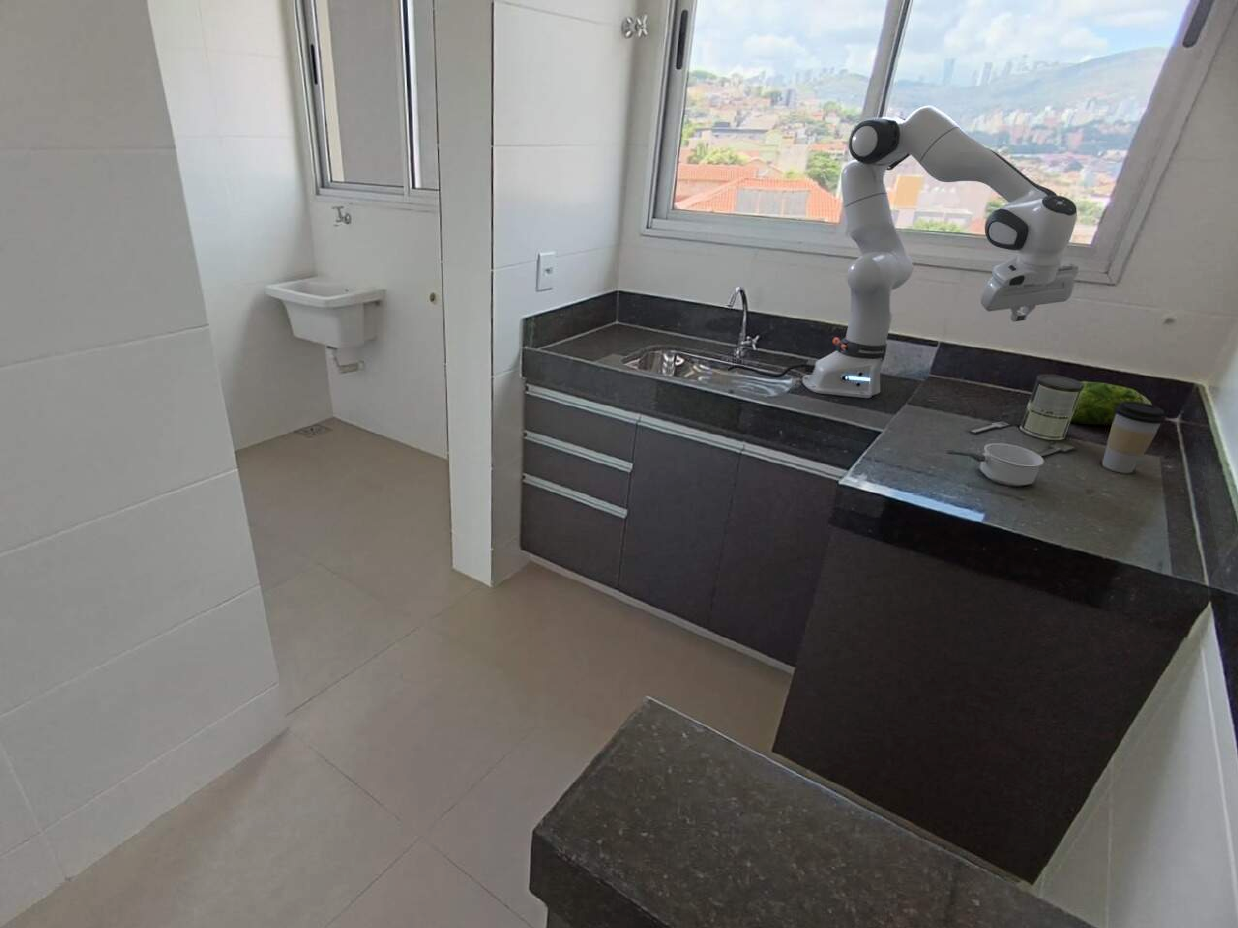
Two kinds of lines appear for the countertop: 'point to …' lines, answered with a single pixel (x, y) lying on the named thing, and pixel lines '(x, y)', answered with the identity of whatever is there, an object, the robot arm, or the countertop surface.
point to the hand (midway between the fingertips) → (1017, 319)
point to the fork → (990, 427)
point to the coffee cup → (1131, 434)
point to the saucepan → (1006, 463)
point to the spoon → (1056, 449)
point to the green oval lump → (1102, 402)
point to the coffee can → (1051, 406)
